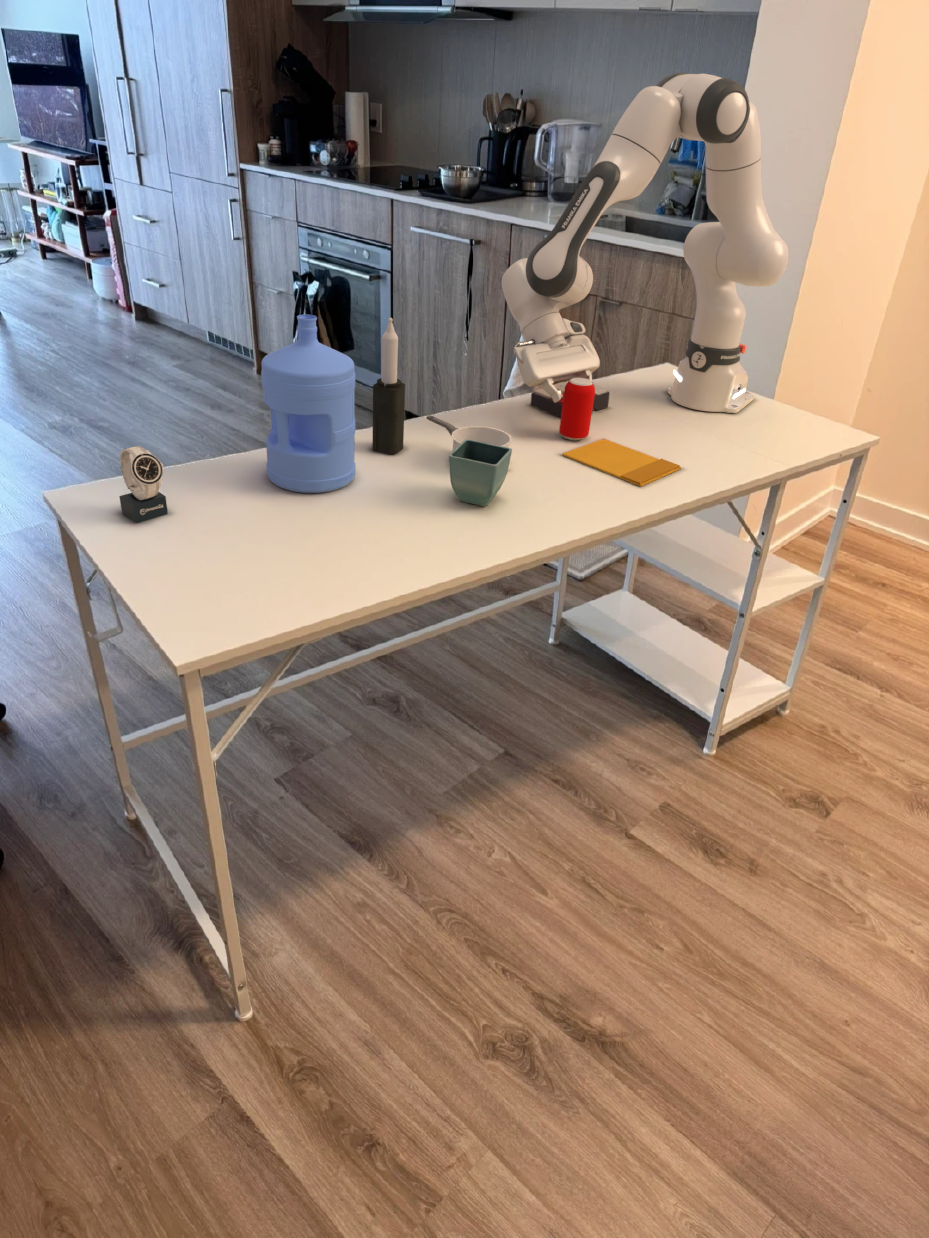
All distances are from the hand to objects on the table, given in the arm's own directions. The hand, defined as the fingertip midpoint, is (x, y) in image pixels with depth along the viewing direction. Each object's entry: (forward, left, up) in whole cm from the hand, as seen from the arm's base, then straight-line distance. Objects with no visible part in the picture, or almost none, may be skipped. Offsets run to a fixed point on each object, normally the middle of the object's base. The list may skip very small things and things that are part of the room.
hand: (575, 397), depth 177 cm
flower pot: (+39, +10, -9) cm, 41 cm away
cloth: (+3, +15, -8) cm, 18 cm away
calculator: (-15, -12, -9) cm, 21 cm away
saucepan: (+27, -5, -9) cm, 29 cm away
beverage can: (0, +1, -9) cm, 9 cm away
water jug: (+56, -15, -9) cm, 59 cm away
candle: (+36, -17, -9) cm, 41 cm away
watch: (+86, -19, -9) cm, 88 cm away
